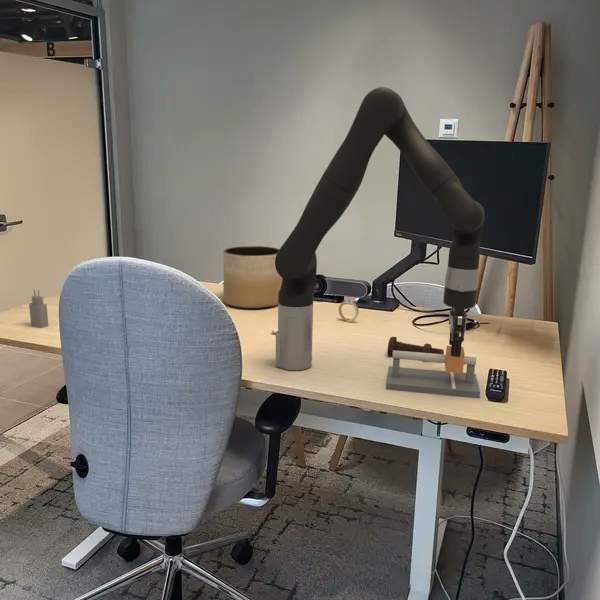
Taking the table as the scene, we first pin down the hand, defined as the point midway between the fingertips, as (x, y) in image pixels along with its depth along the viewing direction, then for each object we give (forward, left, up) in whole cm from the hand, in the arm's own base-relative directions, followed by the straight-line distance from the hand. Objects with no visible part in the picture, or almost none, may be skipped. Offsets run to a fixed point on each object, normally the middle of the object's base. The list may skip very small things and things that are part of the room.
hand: (454, 350), depth 142 cm
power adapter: (-128, +20, -10) cm, 130 cm away
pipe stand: (-5, 0, -9) cm, 11 cm away
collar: (0, 0, -5) cm, 5 cm away
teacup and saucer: (-53, +34, -10) cm, 64 cm away
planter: (-70, +66, -10) cm, 97 cm away
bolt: (-9, +19, -10) cm, 23 cm away
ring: (-32, +50, -10) cm, 60 cm away
